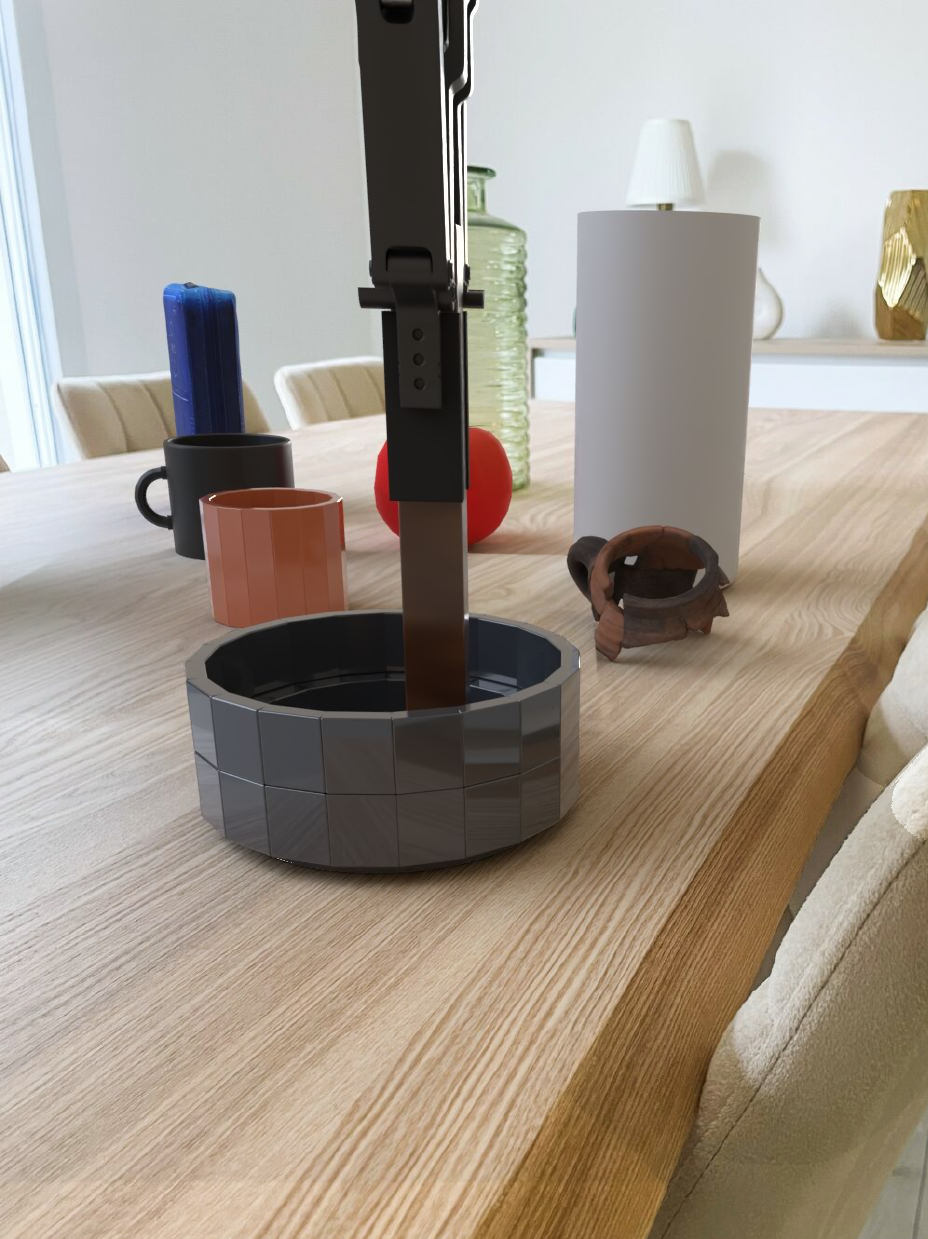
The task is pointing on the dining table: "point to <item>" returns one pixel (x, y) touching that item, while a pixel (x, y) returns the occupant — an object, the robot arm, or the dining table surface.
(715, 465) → the cylinder vase
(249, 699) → the bowl
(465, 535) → the stick
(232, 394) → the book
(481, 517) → the tomato
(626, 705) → the dining table surface
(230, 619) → the pot
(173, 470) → the mug
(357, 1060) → the dining table surface
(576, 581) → the pottery mug
